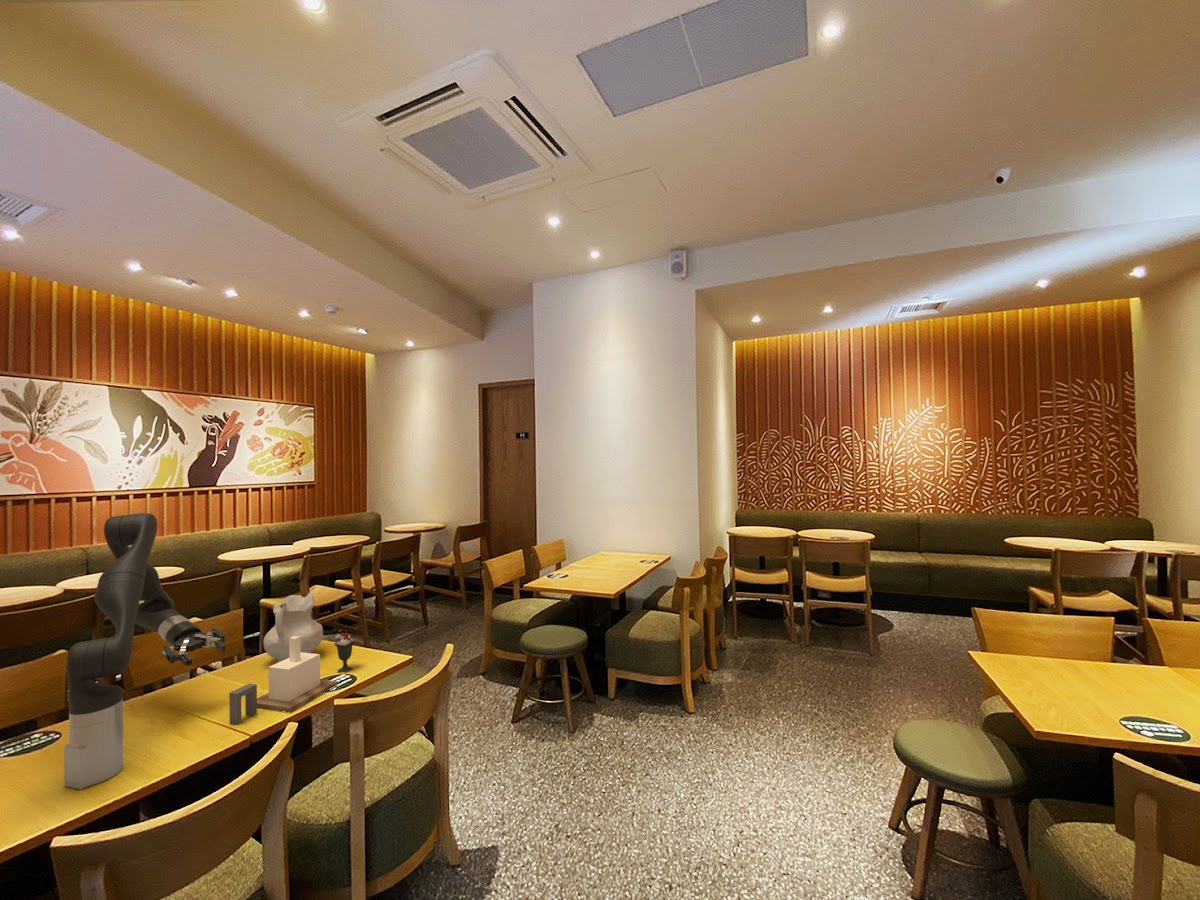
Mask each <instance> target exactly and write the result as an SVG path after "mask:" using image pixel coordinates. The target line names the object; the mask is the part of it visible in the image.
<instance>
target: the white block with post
mask: <svg viewBox="0 0 1200 900" xmlns="http://www.w3.org/2000/svg"><path fill="white" fill-rule="evenodd" d="M320 679H321V654H319V653H313V652H311V653H304V652H301V646H300V637H299V636H294V637H291V638H289V658H287V659H285V660H283V661H281V662H279V663H275V664H272V665H270V666H268V693H269V699H274V700H281V701H288V702H289V701H291V700H293V699H294V698H296V697H298V696H300V695H302V694H303V693H305V692H307V691H309V690H311V689H312V688H314V687H316V686H318V685H320Z"/></svg>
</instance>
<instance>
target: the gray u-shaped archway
mask: <svg viewBox="0 0 1200 900" xmlns="http://www.w3.org/2000/svg"><path fill="white" fill-rule="evenodd" d="M257 685H258V684H256V683H247V684H245V685H243V686H241V687H239V688H238V687H237V688H236V689H234V690H233V691H231V692H229V697H228V699H229V702H228V703H229V705H228V706H229V711H228V713H229V724H230V725H233V726H234V725H236V726H238V725H240V724H242V697H245V699H244V701H245V711H244V712H245V716H249V717H255V716H257V715H258V708H257V698H258V697H257V696H258V694H257V693H258V691H257V689H258V688H257V687H258V686H257Z"/></svg>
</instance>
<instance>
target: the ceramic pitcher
mask: <svg viewBox="0 0 1200 900" xmlns="http://www.w3.org/2000/svg"><path fill="white" fill-rule="evenodd" d="M314 596H315V595H314V593H313V592H307V595H306V596H302V595H297V594H296V595H295V594H291V595H288V596H286V597H285V598H284V599H283V600H282V602H281V604H274V605H273V608H272V612H273V614H274V617H275V621H274V622H275V623H274V626H273V627H272V628H271V629H270V630H269V631H268V632H267V633H266V634H265V636H264V638H263V648H264V651H265V652H266V654H267V655H269V656H270V657H271V658H272V659H275V660H277V661H276V663H279V662H281V661H283V660H285V659H287V658H289V638H291V637H294V636H299V637H300V646H301V652H304V653H313V652H314V651H316V649H317V648H319V646H320V644H321V642H323V641H322V640H323V637H324V629H323V625H322V624H321V623H319V622H317V621H315V620H314V619H313V618H312V617H311V616H312V615H311V614H312V609H313V608H314V606H315V597H314ZM276 663H275V664H276Z"/></svg>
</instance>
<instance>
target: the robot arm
mask: <svg viewBox="0 0 1200 900" xmlns="http://www.w3.org/2000/svg"><path fill="white" fill-rule="evenodd" d="M103 526H104V527H103V536H104V538H105V541H106V543H107V546H108V547H109V550H110V551H111V553H112V555H113V556H114V558H115V561H114V562H113V563H111V564H110V565H109V566H108V567H107V568H106V569H105V570H104V571H103V572H102V574H100V577H99V579H98V583H97V585H96V589H95V593H94V602H95V604H96V606H97V607H98V609H99V610H100V611H101V612H102V613H103V614H104V615H105V616H106V617H107V618H108V619H109V621H111V623H112V625H113V627H114V628H115V634H114V635H113V636H110V637H102V638H99V639H98V638H97V639H92V640H84V641H79V642H77V643H74V644H73V645H71V647H70V648H69V651H68V653H67V656H66V665H65V666H66V667H65V668H66V679H67V689H68V690H67V692H68V693H67V694H68V695H67V696H68V698H67V699H68V710H69V711H68V725H69V726H68V743H67V744H65V745H64V746H63V750H64V751H63V760H64V761H63V765H64V766H63V779H64V781H63V783H64V784H63V786H65V787H69V788H72V789H76V790H83V789H85V788H88V787H90V786H94V785H96V784H99V783H102V782H105V781H107V780H109V779H111V778H113V777H115V776H116V775H118V774H119V773H120V772H121V771H122V770H123V768H124V689H123V688H122V686H119V685H114V684H104V683H100V682H96V681H94V679H99V678H106V677H109V676H114V675H115V676H116V675H119V674H121V673H124V672H125V671H126V670H127V668H128V667H129V664H130V661H131V657H132V652H133V651H132V650H133V643H134V634H135V626H136V625H137V626H140V627H142V628H146V629H150V630H153V631H155V632H156V633H157V634H158V635H160V637H161V639H162V640H163V641H165V642H166V643H167V644H168V645H169V646H168V645H164V646H163V647H162V656H163V658H165V659H166V660H167V662H168V663H169V664H174V663H176V662H180V663H182V664H183V665H184V666H188V667H190V666H192V665H193V659H192V657H191V656H190V655H188V653H189V652H190V653H192V652H194V651H196V650H198V649H202V648H207V649H208V648H210V647H214V648H216V650H217V651H218V652H220V653H224V652H226V649H227V646H226V645H227V644H226V634H225V633H223V632H222V631H220V630H219V629H217V628H215V627H213V628H211V630H210V631H209V632H207V633H206V632H203V631H202V630H201V629H200V627H198V626H197V625H195V624H194V623H193V622H191V620H190V619H189V618H186V617H185V616H184V615H182V614H181V613H179V612H178V611H176V610H175V609H174V608H175V602H174V601H173V599H172V598H171V597H170V596H169V595H168V594H167V593H166V591H165V590H164V588H163V586H162V582H161V579H160V576H159V572H158V570H157V569H156V568H155V567H154V566H153V565H152V564H151V563H150V562H149V558H150V555H151V552H152V548H153V546H154V543H155V539H156V536H157V532H158V520H157V518H156V516H155V515H154V514H152V513H149V512H144V513H143V512H142V513H141V512H139V513H134V514H133V513H131V514H122V515H115V516H110V517H109V518H107V519H106V520H105V522H104V525H103ZM140 602H141V603H140ZM174 651H175V652H178V654H176V653H175V652H174Z"/></svg>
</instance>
